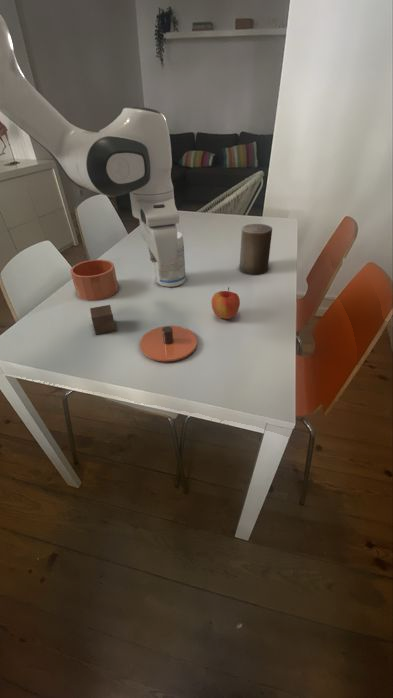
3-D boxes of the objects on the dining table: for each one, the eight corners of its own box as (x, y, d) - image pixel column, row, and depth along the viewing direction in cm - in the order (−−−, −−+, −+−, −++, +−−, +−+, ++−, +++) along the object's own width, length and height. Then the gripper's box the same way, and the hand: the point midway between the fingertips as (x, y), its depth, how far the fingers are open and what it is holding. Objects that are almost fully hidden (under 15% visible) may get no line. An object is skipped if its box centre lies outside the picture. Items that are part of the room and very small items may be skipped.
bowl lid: (146, 369, 69) (144, 352, 66) (135, 335, 79) (133, 319, 76) (204, 355, 72) (204, 339, 69) (187, 325, 82) (186, 309, 79)
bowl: (77, 303, 92) (71, 279, 87) (76, 285, 101) (70, 263, 97) (120, 296, 95) (116, 272, 90) (115, 279, 104) (111, 257, 100)
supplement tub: (191, 281, 102) (190, 235, 93) (169, 291, 97) (165, 243, 88) (172, 272, 108) (169, 228, 99) (149, 281, 103) (144, 235, 94)
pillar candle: (271, 273, 105) (277, 227, 96) (243, 276, 104) (246, 229, 95) (262, 262, 113) (267, 218, 104) (235, 264, 112) (238, 220, 103)
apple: (207, 320, 84) (207, 293, 79) (217, 307, 89) (217, 281, 84) (233, 326, 81) (235, 299, 76) (242, 312, 86) (244, 286, 81)
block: (95, 335, 79) (91, 318, 76) (94, 324, 83) (90, 308, 80) (116, 331, 81) (112, 314, 78) (113, 321, 84) (110, 304, 81)
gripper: (129, 196, 72) (137, 254, 81) (148, 220, 57) (155, 289, 66) (156, 193, 74) (161, 251, 82) (181, 216, 59) (184, 285, 67)
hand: (159, 268), depth 74 cm, fingers open, 8 cm apart
